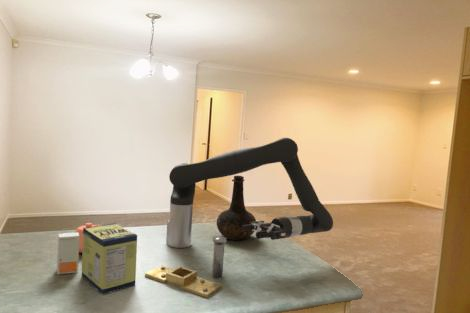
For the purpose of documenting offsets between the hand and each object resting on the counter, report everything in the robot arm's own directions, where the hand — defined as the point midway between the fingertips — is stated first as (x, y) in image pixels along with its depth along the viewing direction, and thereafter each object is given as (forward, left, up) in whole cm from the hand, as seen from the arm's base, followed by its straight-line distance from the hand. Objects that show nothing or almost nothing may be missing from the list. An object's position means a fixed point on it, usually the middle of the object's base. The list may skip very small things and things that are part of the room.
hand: (249, 231), depth 120 cm
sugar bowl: (-57, -19, -14) cm, 61 cm away
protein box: (-31, -33, -14) cm, 47 cm away
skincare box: (-46, -36, -14) cm, 60 cm away
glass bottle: (-22, +31, -14) cm, 41 cm away
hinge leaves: (-13, -20, -14) cm, 27 cm away
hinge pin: (-6, -10, -14) cm, 18 cm away
